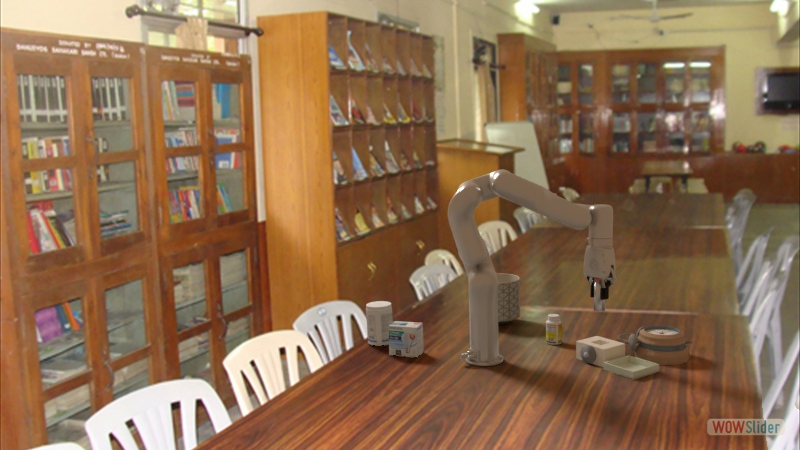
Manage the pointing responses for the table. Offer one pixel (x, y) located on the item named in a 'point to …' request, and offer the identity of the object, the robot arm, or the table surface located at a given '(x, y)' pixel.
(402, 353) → the light bulb box
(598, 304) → the pin
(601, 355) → the block
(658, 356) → the alarm clock
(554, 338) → the supplement bottle
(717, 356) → the table surface
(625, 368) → the tray
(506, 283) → the planter
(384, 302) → the supplement tub
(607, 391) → the table surface
